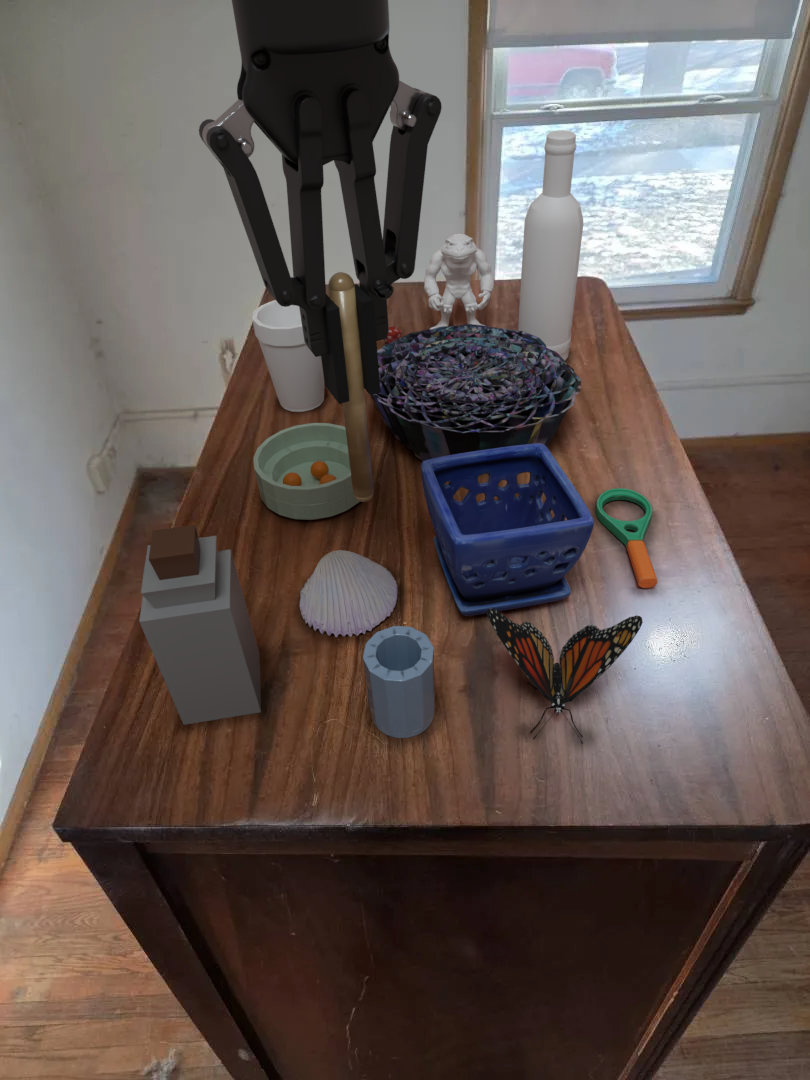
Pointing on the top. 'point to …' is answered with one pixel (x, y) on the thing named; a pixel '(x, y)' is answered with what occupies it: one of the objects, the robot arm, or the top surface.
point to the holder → (400, 681)
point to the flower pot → (505, 527)
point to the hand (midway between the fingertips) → (352, 388)
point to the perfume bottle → (199, 626)
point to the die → (393, 334)
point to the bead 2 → (319, 469)
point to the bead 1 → (292, 479)
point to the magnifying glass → (630, 540)
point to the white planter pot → (289, 357)
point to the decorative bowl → (472, 389)
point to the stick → (353, 388)
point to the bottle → (552, 250)
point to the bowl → (305, 471)
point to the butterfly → (564, 656)
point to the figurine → (458, 278)
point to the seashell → (347, 594)
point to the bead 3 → (327, 479)
